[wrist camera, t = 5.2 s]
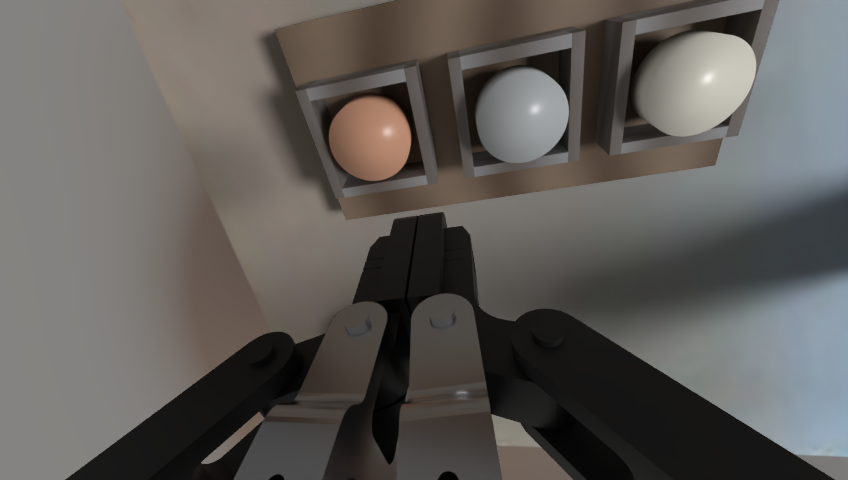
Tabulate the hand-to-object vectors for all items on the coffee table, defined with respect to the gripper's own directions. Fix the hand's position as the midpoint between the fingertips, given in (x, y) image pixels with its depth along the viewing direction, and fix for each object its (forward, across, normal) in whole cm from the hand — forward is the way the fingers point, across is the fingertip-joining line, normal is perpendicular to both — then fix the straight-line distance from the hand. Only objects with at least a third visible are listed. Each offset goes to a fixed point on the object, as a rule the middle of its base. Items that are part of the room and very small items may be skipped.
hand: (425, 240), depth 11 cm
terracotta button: (+11, +4, 0) cm, 12 cm away
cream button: (+11, -12, 0) cm, 17 cm away
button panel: (+14, -4, 0) cm, 15 cm away
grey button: (+11, -4, 0) cm, 12 cm away
